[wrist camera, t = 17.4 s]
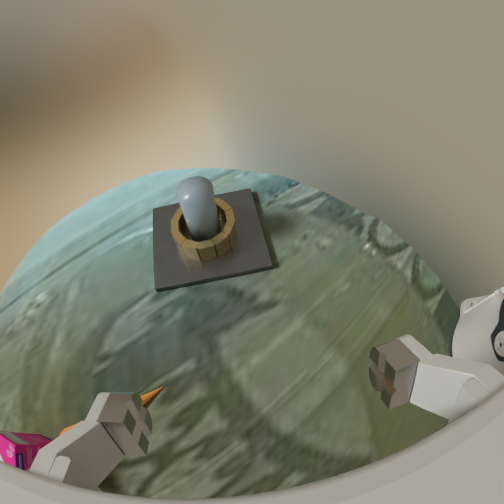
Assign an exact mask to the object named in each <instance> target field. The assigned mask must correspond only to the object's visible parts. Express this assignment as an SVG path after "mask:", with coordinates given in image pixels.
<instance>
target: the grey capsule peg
mask: <svg viewBox="0 0 504 504" xmlns="http://www.w3.org/2000/svg"><path fill="white" fill-rule="evenodd" d="M176 194H177V198H178V201H179V204H180V206H181V209H182V212H183V215H184V218H185V221H186V224H187V226H188V229H189V232H190V235H191V237H192V239H193V240H194V241H196V242H201V241H206V240H211V239H213V238H214V237H215V236H217V235H218V234H219V233H221V228H220V223H219V218H218V212H217V207H216V202H215V197H214V192H213V187H212V183H211V182H210V181H209V180H208V179H207V178H204V177H199V176H197V177H191V178H188V179H186V180H184V181H183V182H182V183H180V185H179V186H178V188H177V191H176Z"/></svg>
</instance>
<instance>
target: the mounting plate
mask: <svg viewBox="0 0 504 504" xmlns="http://www.w3.org/2000/svg"><path fill="white" fill-rule="evenodd" d="M214 197H215V198H219V199H221V200H223V201H225V202H226V203H227V204H228V205H229V206H230V207H232V209H233V214H234V218H235V224H236V231H237V236H236V238H235V240H234V243H233V245H232V247H231V249H229V250H228V251H227V252H225V253H224V254H223V255H222V256H220V257H218V256H217V258H216V259H211V260H206V261H202V260H201V261H198V260H194V259H191V258H187V256H185V255H184V254H183V253H182V252H181V251H180V249H179V248H178V247H177V245H176V243H175V241H174V239H173V236H172V234H171V219H172V218H173V216H174V214H175V212H176V211H177V209H179V207H180V204H179V203H176V204H172V205H167V206H163V207H159V208H155V209H153V254H154V279H155V290H156V291H157V292H158V291H163V290H169V289H174V288H179V287H184V286H189V285H194V284H199V283H204V282H209V281H214V280H219V279H224V278H229V277H234V276H239V275H244V274H249V273H254V272H258V271H263V270H268V269H272V266H273V265H272V262H271V258H270V255H269V251H268V248H267V244H266V241H265V237H264V234H263V230H262V227H261V224H260V220H259V217H258V213H257V210H256V206H255V203H254V200H253V196H252V193H251V189H245V190H239V191H234V192H229V193H224V194H219V195H214ZM218 218H219V217H218ZM219 223H220V228H221V232H222V231H223V228H224V226H225V224H226V223H225V222H224V221H223V220H222V219H221V218H219ZM183 236H184V237H185V238H186V239H188V240H192V241H194V240H193V239H192V237H191V235H190V232H189V229H188V226H187V228H186V229H185V231H184V233H183Z"/></svg>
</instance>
